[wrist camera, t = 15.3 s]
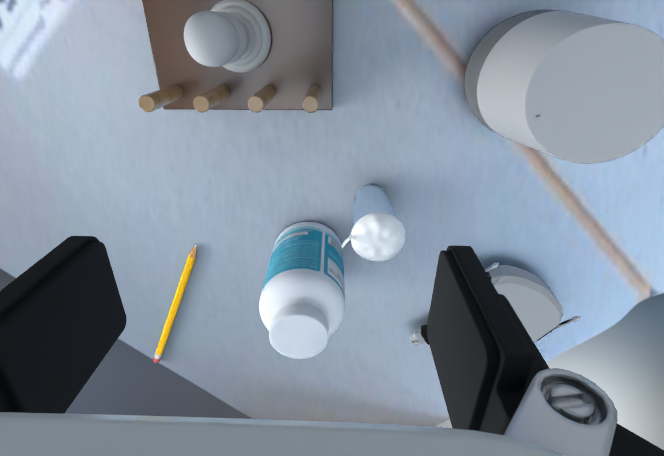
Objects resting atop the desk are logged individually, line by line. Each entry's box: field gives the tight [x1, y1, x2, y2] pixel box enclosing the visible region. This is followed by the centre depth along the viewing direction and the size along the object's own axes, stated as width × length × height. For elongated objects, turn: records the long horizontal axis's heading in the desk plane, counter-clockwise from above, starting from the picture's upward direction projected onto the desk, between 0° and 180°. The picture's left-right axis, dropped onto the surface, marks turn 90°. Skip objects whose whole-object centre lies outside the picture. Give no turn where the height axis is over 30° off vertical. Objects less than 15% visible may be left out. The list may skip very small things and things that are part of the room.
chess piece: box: [184, 0, 271, 73], centre depth 27 cm, size 5×5×9 cm
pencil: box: [154, 244, 197, 363], centre depth 46 cm, size 1×19×1 cm, turn 156°
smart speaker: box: [464, 10, 664, 164], centre depth 27 cm, size 10×9×14 cm
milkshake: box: [341, 185, 405, 261], centre depth 35 cm, size 4×5×10 cm
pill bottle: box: [259, 222, 345, 359], centre depth 36 cm, size 8×7×14 cm
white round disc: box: [410, 262, 581, 345], centre depth 44 cm, size 12×4×15 cm
